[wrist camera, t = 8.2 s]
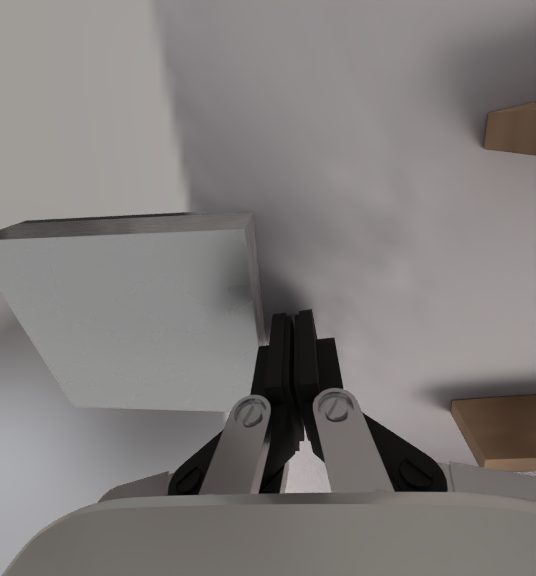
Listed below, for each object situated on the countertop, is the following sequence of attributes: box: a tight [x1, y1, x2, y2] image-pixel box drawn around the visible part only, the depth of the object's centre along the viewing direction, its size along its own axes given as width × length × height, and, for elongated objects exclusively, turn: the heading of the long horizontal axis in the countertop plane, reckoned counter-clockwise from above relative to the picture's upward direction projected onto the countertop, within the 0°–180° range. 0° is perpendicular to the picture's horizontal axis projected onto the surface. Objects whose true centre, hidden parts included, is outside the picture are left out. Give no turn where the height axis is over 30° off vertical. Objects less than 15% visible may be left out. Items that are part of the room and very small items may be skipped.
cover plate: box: [0, 212, 266, 412], centre depth 13 cm, size 10×9×2 cm
